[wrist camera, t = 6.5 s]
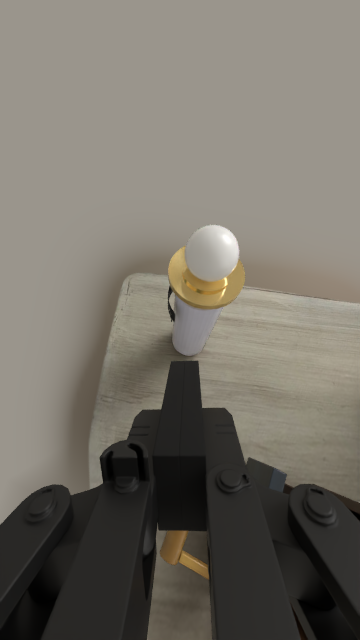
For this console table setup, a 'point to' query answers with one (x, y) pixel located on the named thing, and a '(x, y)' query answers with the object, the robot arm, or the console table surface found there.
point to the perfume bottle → (203, 285)
